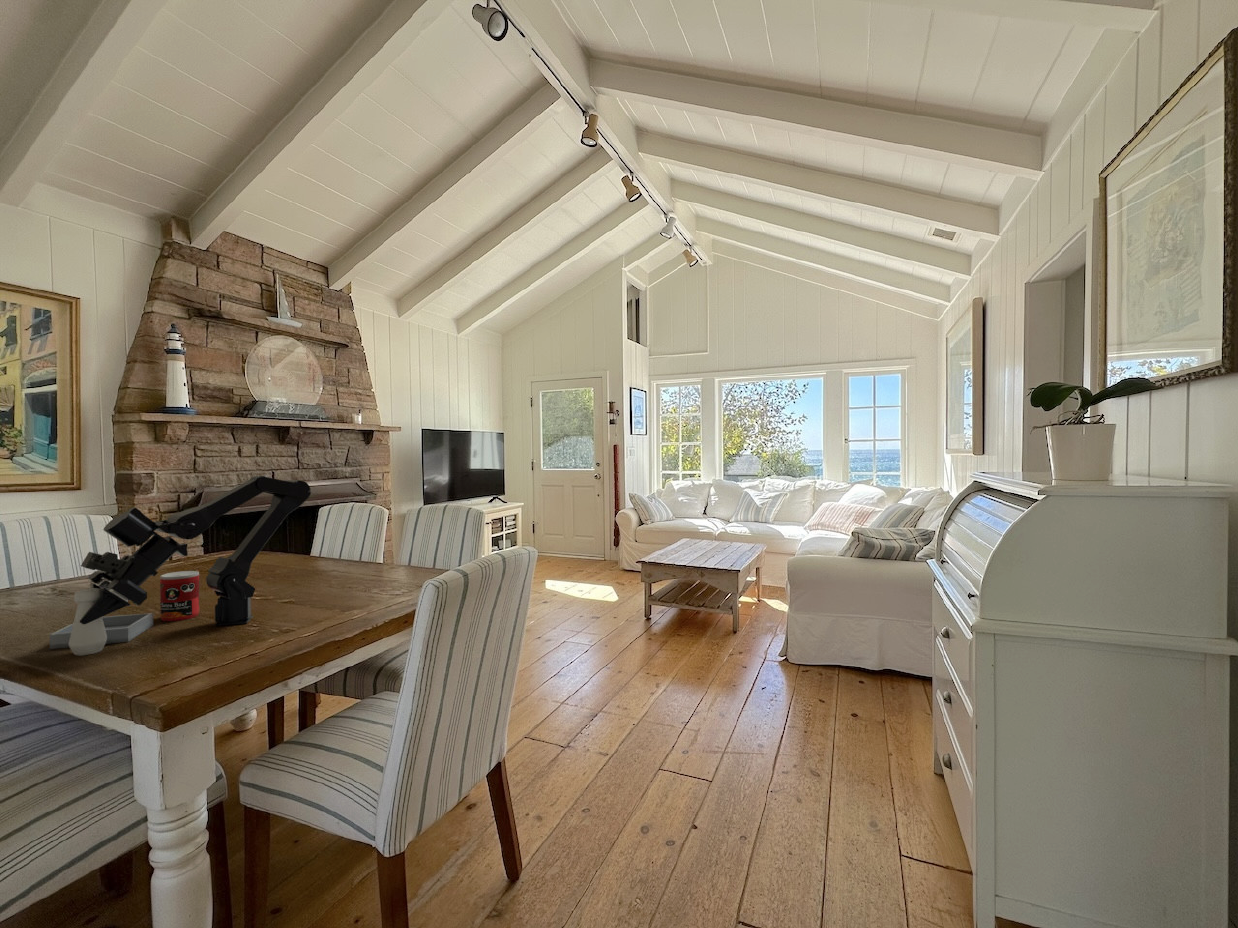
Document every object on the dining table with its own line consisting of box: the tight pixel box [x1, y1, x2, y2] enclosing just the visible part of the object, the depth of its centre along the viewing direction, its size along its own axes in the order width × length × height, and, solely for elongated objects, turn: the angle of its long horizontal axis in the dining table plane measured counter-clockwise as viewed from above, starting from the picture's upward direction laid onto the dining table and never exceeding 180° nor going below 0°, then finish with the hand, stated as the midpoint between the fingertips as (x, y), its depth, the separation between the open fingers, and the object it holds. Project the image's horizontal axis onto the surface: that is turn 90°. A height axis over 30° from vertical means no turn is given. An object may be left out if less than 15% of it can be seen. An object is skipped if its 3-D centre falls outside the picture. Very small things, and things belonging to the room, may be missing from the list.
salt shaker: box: [68, 587, 107, 657], centre depth 116 cm, size 6×6×13 cm
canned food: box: [159, 570, 200, 622], centre depth 142 cm, size 8×8×11 cm
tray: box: [49, 612, 154, 650], centre depth 126 cm, size 13×13×3 cm
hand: (79, 621), depth 114 cm, fingers closed on salt shaker, 3 cm apart
